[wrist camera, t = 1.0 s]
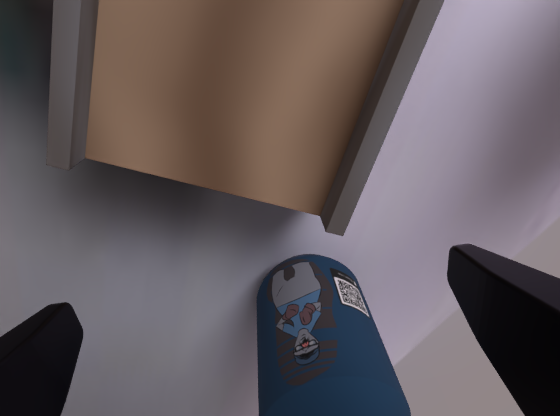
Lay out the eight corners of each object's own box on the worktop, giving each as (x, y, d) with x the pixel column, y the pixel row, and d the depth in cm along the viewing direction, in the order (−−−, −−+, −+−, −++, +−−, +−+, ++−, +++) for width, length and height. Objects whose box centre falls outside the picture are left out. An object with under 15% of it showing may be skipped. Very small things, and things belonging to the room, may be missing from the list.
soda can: (315, 338, 28) (354, 531, 17) (237, 300, 26) (226, 492, 15) (375, 274, 26) (462, 451, 15) (295, 227, 24) (330, 392, 13)
